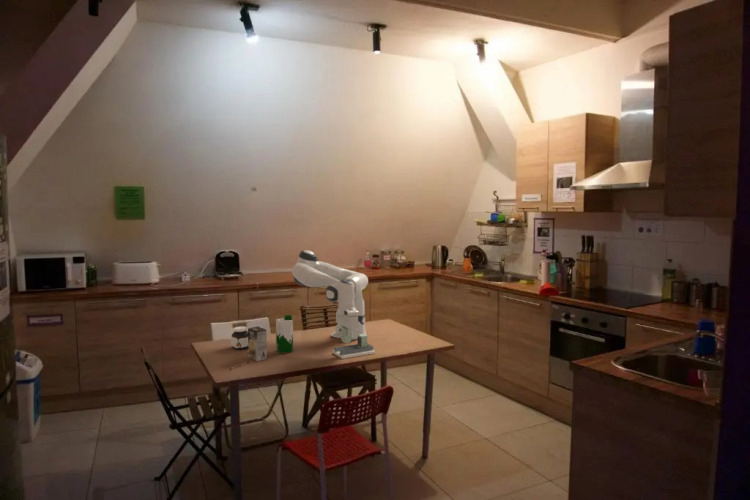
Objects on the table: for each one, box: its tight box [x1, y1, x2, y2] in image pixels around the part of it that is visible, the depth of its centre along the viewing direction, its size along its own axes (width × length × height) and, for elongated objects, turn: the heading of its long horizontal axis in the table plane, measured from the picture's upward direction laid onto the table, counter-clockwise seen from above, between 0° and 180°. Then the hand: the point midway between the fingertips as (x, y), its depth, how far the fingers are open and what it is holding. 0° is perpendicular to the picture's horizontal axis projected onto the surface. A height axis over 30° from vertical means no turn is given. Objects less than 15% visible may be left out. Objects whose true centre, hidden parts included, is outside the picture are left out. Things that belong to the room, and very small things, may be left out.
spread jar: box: [230, 326, 248, 350], centre depth 290 cm, size 12×11×12 cm
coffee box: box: [247, 326, 268, 362], centre depth 271 cm, size 9×6×16 cm
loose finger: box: [341, 327, 352, 344], centre depth 278 cm, size 4×4×8 cm
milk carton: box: [275, 314, 294, 354], centre depth 283 cm, size 9×9×20 cm
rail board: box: [332, 334, 376, 360], centre depth 280 cm, size 20×12×10 cm, turn 120°
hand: (346, 334), depth 277 cm, fingers closed on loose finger, 4 cm apart
